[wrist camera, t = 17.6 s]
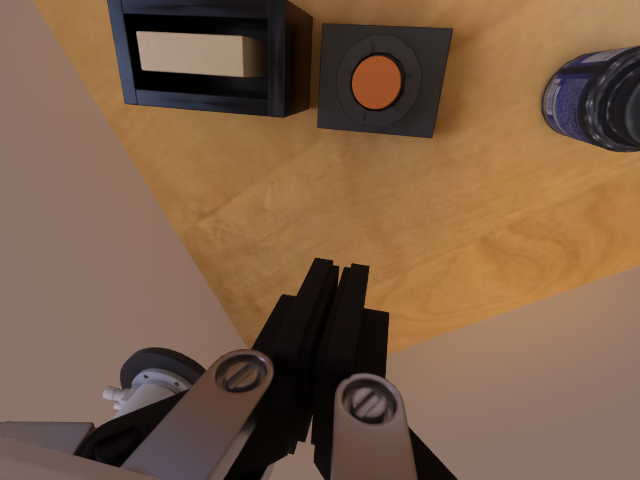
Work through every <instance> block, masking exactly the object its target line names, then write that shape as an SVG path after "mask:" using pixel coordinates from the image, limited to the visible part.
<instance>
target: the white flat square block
mask: <svg viewBox="0 0 640 480" xmlns="http://www.w3.org/2000/svg"><path fill="white" fill-rule="evenodd" d="M136 33H137V40H138V47H139V54H140V60H141V67H142V70H145V71H159V72H174V73H189V74H204V75H218V76H233V77H269V55H268V43H267V42H263V41H259V40H256V39H252V38H248V37H244V36H232V35H211V34H189V33H168V32H146V31H137V32H136Z"/></svg>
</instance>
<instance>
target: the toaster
mask: <svg viewBox="0 0 640 480" xmlns="http://www.w3.org/2000/svg"><path fill="white" fill-rule="evenodd" d="M107 3H108V9H109V14H110V20H111V26H112V32H113V38H114V43H115V49H116V55H117V61H118V67H119V73H120V78H121V84H122V90H123V96H124V102H125V104H132V105H143V106H154V107H166V108H177V109H189V110H201V111H212V112H224V113H235V114H247V115H258V116H270V117H281V118H284V117H287V116H290V115H293V114H296V113H299V112H302V111H305V110H308V109H309V100H310V75H311V50H312V26H313V17H312V16H311V15H309V14H308V13H306V12H305V11H303V10H302V9H300V8H299V7H297V6H296V5H294V4H293V3H291V2H290V1H288V0H107ZM137 31H146V32H168V33H189V34H211V35H232V36H244V37H248V38H252V39H256V40H259V41H263V42H267V43H268V55H269V77H233V76H218V75H204V74H189V73H174V72H159V71H145V70H142V67H141V60H140V54H139V47H138V40H137V33H136V32H137Z"/></svg>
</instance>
